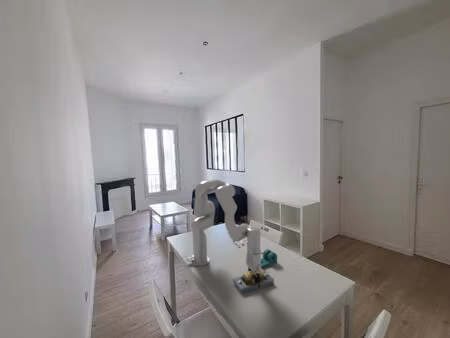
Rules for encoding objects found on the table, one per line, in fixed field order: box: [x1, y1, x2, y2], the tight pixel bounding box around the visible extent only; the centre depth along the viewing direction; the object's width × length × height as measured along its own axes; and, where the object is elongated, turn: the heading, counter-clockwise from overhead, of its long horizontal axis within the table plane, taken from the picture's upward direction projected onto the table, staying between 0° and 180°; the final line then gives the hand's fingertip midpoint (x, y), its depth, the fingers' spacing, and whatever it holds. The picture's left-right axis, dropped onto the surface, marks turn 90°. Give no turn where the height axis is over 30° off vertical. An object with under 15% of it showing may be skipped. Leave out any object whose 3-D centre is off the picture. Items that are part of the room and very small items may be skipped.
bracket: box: [261, 248, 278, 270], centre depth 139 cm, size 18×7×8 cm, turn 121°
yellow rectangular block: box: [242, 269, 266, 286], centre depth 120 cm, size 12×4×7 cm, turn 111°
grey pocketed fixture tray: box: [232, 269, 275, 295], centre depth 120 cm, size 21×10×4 cm, turn 111°
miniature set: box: [225, 228, 247, 247], centre depth 183 cm, size 6×35×12 cm
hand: (253, 278), depth 120 cm, fingers open, 7 cm apart
